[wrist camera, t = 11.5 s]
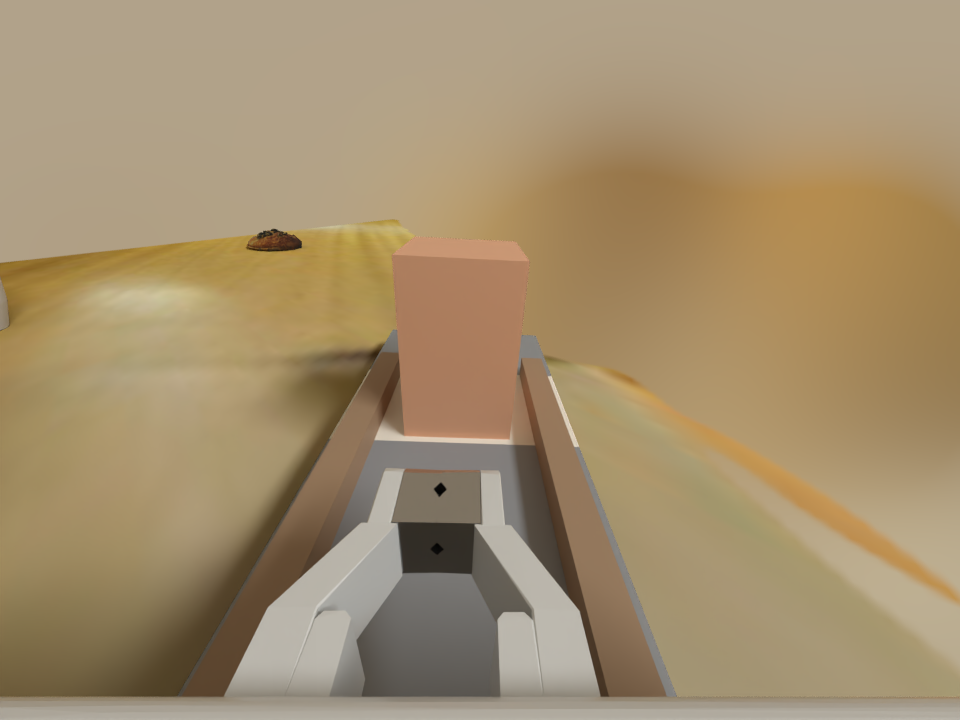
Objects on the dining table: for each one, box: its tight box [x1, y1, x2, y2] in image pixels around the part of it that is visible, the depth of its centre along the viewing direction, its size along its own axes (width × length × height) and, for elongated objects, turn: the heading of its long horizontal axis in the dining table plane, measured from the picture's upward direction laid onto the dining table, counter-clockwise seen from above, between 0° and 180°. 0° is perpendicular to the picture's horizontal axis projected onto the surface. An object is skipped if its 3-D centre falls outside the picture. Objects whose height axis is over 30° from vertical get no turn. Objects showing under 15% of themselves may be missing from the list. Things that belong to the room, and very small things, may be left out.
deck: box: [177, 330, 677, 697], centre depth 19 cm, size 14×32×4 cm, turn 0°
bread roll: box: [247, 229, 302, 251], centre depth 78 cm, size 11×11×5 cm
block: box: [392, 237, 530, 440], centre depth 20 cm, size 6×6×10 cm
